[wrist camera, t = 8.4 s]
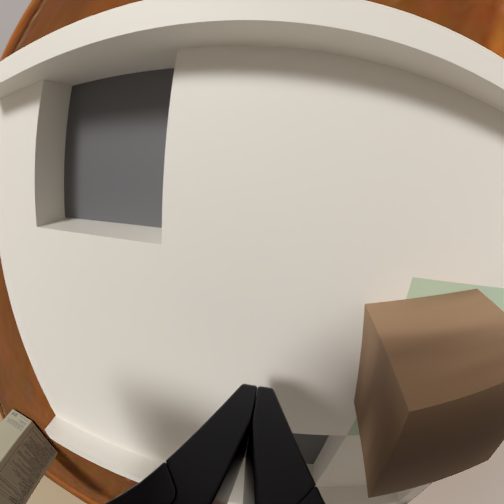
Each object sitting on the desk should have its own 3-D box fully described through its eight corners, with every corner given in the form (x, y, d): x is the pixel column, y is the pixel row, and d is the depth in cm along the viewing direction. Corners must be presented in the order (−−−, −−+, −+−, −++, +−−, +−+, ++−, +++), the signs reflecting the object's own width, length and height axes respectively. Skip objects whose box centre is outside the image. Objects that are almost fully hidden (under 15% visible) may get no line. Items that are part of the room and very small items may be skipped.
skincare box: (12, 407, 19) (-41, 467, 7) (33, 419, 18) (-23, 489, 6) (39, 442, 20) (-5, 501, 9) (61, 455, 20) (17, 520, 8)
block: (450, 383, 8) (487, 459, 4) (353, 401, 8) (368, 498, 5) (477, 288, 7) (550, 358, 3) (364, 303, 7) (409, 411, 4)
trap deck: (397, 463, 12) (405, 505, 9) (75, 407, 15) (50, 438, 11) (524, 123, 6) (580, 122, 3) (32, 82, 8) (-21, 76, 5)
